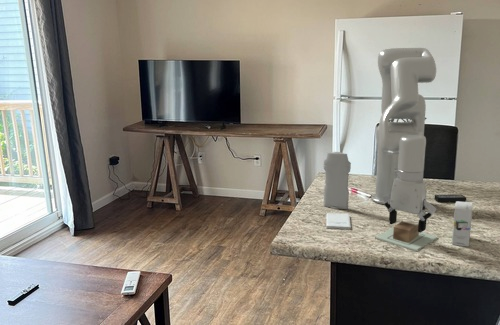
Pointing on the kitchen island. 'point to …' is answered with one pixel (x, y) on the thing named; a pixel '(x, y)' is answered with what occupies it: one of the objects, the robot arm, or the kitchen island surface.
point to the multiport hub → (450, 198)
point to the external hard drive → (338, 221)
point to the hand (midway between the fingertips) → (406, 227)
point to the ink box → (462, 223)
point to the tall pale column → (336, 180)
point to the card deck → (406, 231)
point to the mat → (412, 245)
